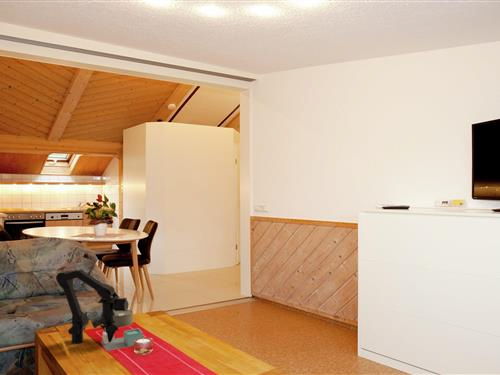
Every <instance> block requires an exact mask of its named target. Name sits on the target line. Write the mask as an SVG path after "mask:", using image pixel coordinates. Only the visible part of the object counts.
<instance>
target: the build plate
mask: <svg viewBox="0 0 500 375" xmlns="http://www.w3.org/2000/svg"><path fill="white" fill-rule="evenodd" d="M138 339H143V340H144V332H143V331H142V330H141V329H140V328H139V327H138V328H133V329H128V330H124V331H123V336H122V337H116V338H115V343H109V344H104V343H103V340H100V343H101V345H102V346H103V348H104V349H105V351H106V352H109V351H113V350H119V349H124V348H129V347H133V346H134V341H135V340H138ZM134 347H135V346H134Z"/></svg>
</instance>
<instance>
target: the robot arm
mask: <svg viewBox="0 0 500 375" xmlns="http://www.w3.org/2000/svg"><path fill="white" fill-rule="evenodd" d="M74 279H78V280H79V281H81V282H83V283H84V284H86V285H87V286H89V287H90V288H92V289H93V290H95V292H96V293H97V295H98V296H99V297H100V300H99V301H97V303H98V304H101V306H102V307H101V311H102V312H101V313H100V316H97V317H95V318H94V319H92V320H90V318H89V316H88V313H87V312H85V313H84V312H83V311H82V308H81V306H80V303H79V300H78V297H77V294H76V290H75V289H74ZM55 280H56V281H57V282H56V283H57V284H58V286H59V287H61V288H62V290H63V292H64V295H65V298H66V301H67V303H68V307H69V310H70V311H71V315H72V316H71V324H72V325H71V327H69V329H68V330H67V333H68V335H71V343H72V344H73V345H74V344H75V345H80V344H82V343H83V342H84V330H86V328H87V326H88V325H89V323H91V325H92V327H93V328H94V329H97V328H98V327H101V328H102V329H103V332H106V333H107V336H108V341H109V342H111V340H112V338H113V336H114V337H115V333H116V332H118V331H119V327H118V326H117V325H116V324H115V321H114V315H115V313H114V312H116V311H127V310H129V301H128V298H127V297H121V298H120V297H119V295H118V293H117V292H116V290H115V288H114V287H113V286H111V285H109V284H108V283H107V284H106V283H103V282H101V281H99V280H98V279H96V278H95V277H94V276H92V275H91V274H90V273H87V272H86V271H85V270H84V269H81V268H79V269H76V270H71V271H70V270H64V271H59V272H58V274H56V276H55ZM89 320H90V322H89ZM113 323H114V324H113Z"/></svg>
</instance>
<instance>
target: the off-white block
mask: <svg viewBox="0 0 500 375" xmlns="http://www.w3.org/2000/svg"><path fill="white" fill-rule="evenodd" d="M115 339H116V338H115V335H114V336H113V338H112V340H111V342H109V341H108V336H107V333H106V332H104V331H102V341H103V343H104V344H109V343H115Z"/></svg>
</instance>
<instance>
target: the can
mask: <svg viewBox="0 0 500 375" xmlns="http://www.w3.org/2000/svg"><path fill="white" fill-rule="evenodd" d="M114 313H115V315H114V321H115V324H116V325H117V326H118V328H123V327H128V326H132V325H133V314H134V311H133V310H130V309H128V310H127V311H114ZM112 324H114V323H112Z"/></svg>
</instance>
